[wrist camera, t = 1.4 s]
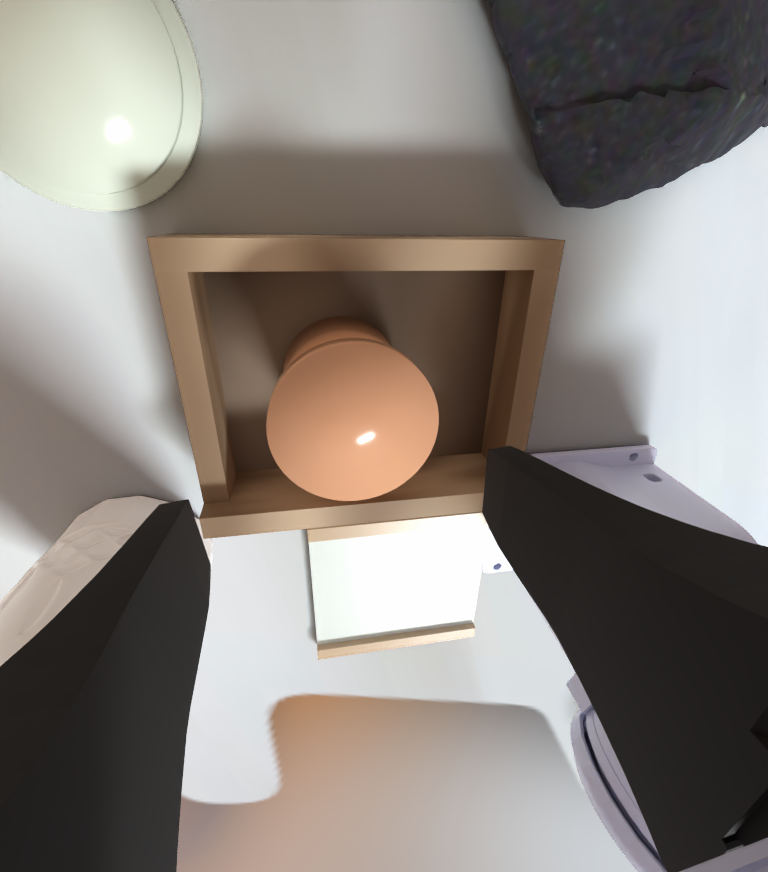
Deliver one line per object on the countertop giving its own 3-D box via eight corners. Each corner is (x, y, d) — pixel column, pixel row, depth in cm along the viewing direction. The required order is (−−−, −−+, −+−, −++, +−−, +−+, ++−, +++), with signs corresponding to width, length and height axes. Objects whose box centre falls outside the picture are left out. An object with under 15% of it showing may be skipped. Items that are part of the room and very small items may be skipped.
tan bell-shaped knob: (406, 307, 18) (445, 341, 13) (401, 428, 20) (433, 493, 16) (268, 310, 17) (255, 347, 12) (281, 436, 20) (275, 507, 15)
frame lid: (487, 500, 24) (494, 511, 23) (468, 623, 29) (474, 636, 28) (306, 517, 23) (307, 530, 22) (317, 645, 27) (318, 659, 26)
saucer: (177, -85, 12) (168, -108, 11) (220, 213, 16) (215, 213, 15) (-134, -122, 11) (-171, -151, 10) (-14, 209, 15) (-35, 209, 14)
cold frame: (526, 236, 18) (581, 241, 15) (492, 462, 23) (527, 506, 20) (172, 233, 16) (135, 239, 12) (219, 484, 21) (203, 538, 17)
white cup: (44, 591, 22) (-126, 841, 13) (66, 464, 19) (-132, 674, 10) (205, 615, 24) (151, 838, 16) (244, 506, 22) (206, 703, 13)
